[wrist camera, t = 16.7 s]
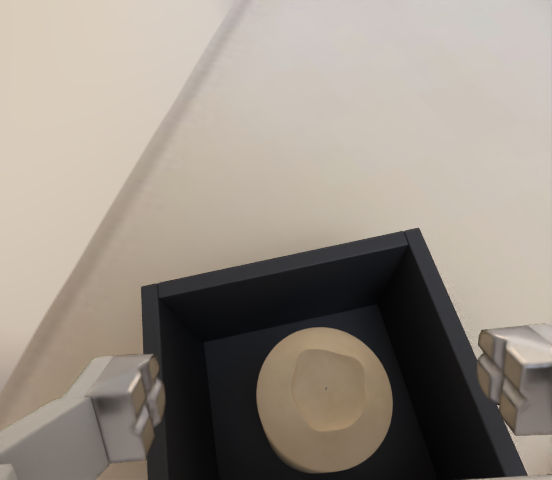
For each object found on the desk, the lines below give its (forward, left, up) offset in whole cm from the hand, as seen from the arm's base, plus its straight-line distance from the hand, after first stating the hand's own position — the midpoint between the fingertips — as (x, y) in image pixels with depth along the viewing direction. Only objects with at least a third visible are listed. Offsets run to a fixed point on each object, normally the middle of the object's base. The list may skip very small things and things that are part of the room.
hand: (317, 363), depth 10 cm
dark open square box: (0, -1, -16) cm, 16 cm away
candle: (0, -1, -15) cm, 15 cm away
